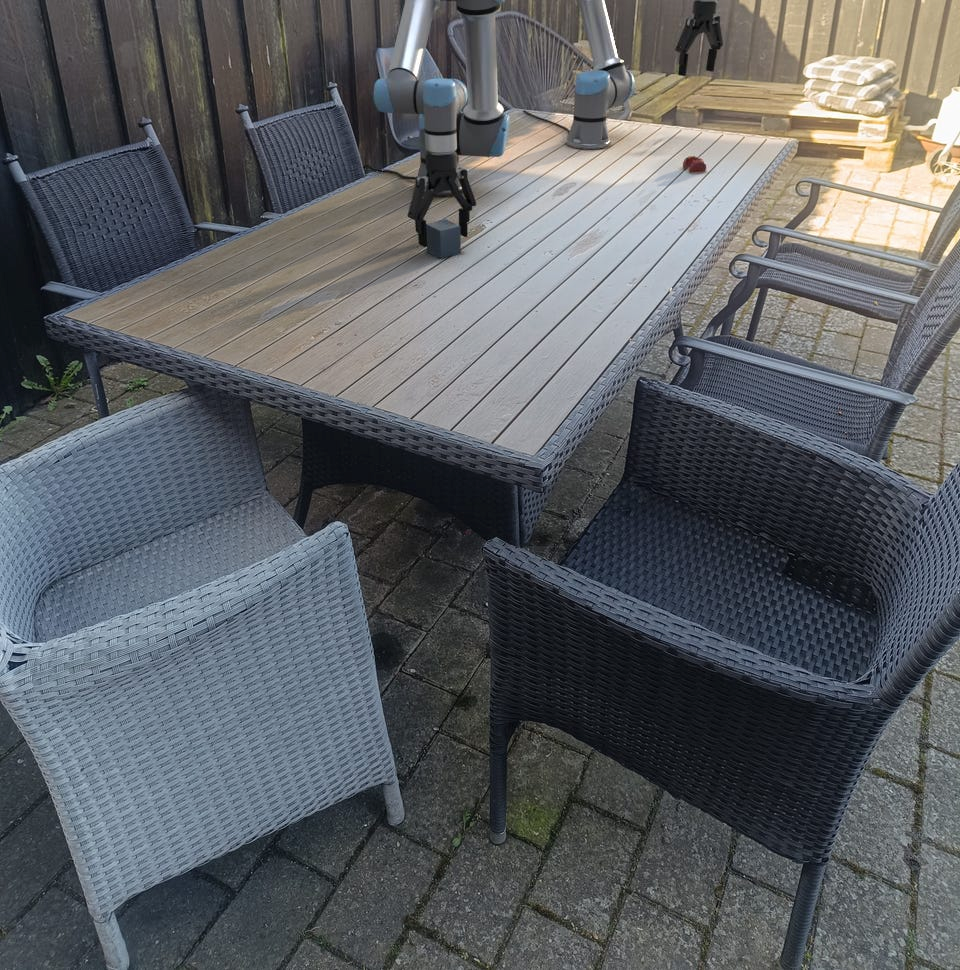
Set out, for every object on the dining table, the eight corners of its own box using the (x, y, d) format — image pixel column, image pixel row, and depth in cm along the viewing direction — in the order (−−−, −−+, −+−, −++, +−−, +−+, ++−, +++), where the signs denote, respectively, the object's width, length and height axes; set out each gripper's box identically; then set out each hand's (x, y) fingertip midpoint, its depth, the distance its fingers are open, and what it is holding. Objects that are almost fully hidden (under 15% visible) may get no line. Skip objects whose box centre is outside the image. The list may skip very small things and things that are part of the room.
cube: (460, 253, 214) (460, 225, 210) (441, 258, 211) (440, 230, 207) (446, 246, 219) (445, 219, 215) (426, 251, 216) (425, 223, 212)
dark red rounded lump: (697, 152, 277) (708, 159, 271) (696, 165, 280) (707, 172, 273) (682, 154, 276) (692, 161, 270) (680, 167, 279) (691, 174, 272)
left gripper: (472, 140, 209) (473, 227, 221) (389, 155, 197) (395, 246, 210) (490, 146, 204) (490, 234, 217) (406, 162, 192) (411, 254, 205)
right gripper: (722, -4, 276) (712, 67, 288) (669, 1, 264) (661, 75, 276) (740, -2, 271) (729, 70, 284) (687, 3, 259) (678, 79, 272)
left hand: (443, 240), depth 213 cm, fingers open, 12 cm apart
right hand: (695, 73), depth 280 cm, fingers open, 13 cm apart
